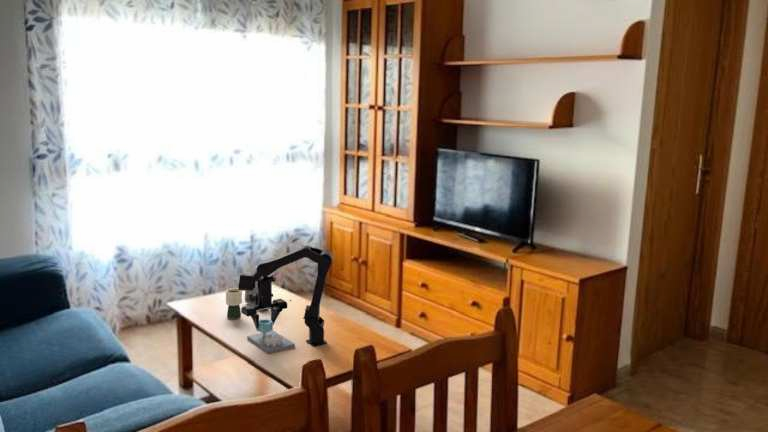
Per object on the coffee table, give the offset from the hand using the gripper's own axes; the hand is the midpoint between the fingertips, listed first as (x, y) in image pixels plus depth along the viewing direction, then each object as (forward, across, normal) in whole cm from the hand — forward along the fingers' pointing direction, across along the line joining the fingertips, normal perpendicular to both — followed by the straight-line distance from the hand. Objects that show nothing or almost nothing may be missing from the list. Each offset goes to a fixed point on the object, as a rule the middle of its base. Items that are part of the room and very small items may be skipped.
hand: (264, 326), depth 270 cm
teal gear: (+1, 0, 0) cm, 1 cm away
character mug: (+6, -2, -32) cm, 32 cm away
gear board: (+6, -1, +4) cm, 7 cm away
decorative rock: (+6, -18, -38) cm, 43 cm away
